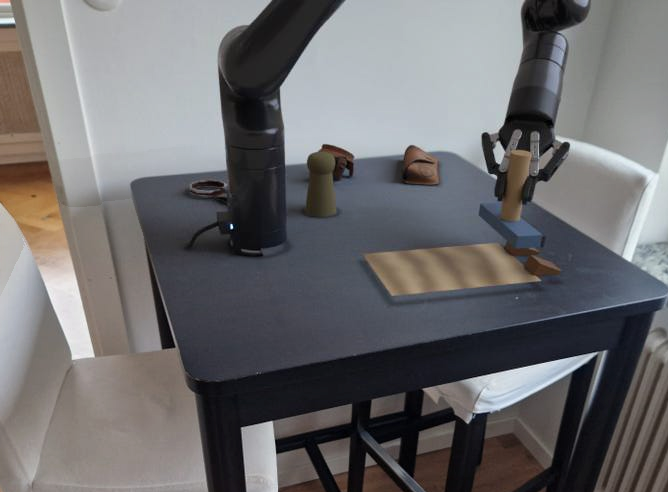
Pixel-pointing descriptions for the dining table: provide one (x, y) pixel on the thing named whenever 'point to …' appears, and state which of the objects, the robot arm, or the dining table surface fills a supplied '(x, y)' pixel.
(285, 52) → the robot arm
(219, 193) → the keychain
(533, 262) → the block
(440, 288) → the cutting board
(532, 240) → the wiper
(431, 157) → the sunglasses case
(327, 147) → the brown piece
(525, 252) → the block
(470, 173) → the dining table surface
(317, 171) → the olive game pawn
